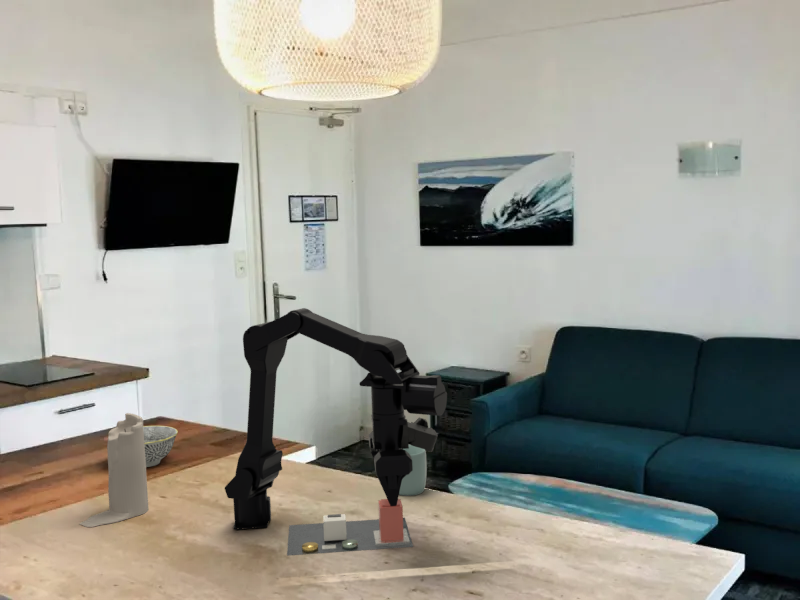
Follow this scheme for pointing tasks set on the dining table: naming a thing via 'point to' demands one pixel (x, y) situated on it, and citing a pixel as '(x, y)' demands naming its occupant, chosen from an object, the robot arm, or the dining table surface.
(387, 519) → the cap
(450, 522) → the dining table surface
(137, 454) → the grey tall curved piece
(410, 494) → the cup
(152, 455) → the bowl
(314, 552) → the panel
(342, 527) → the block
